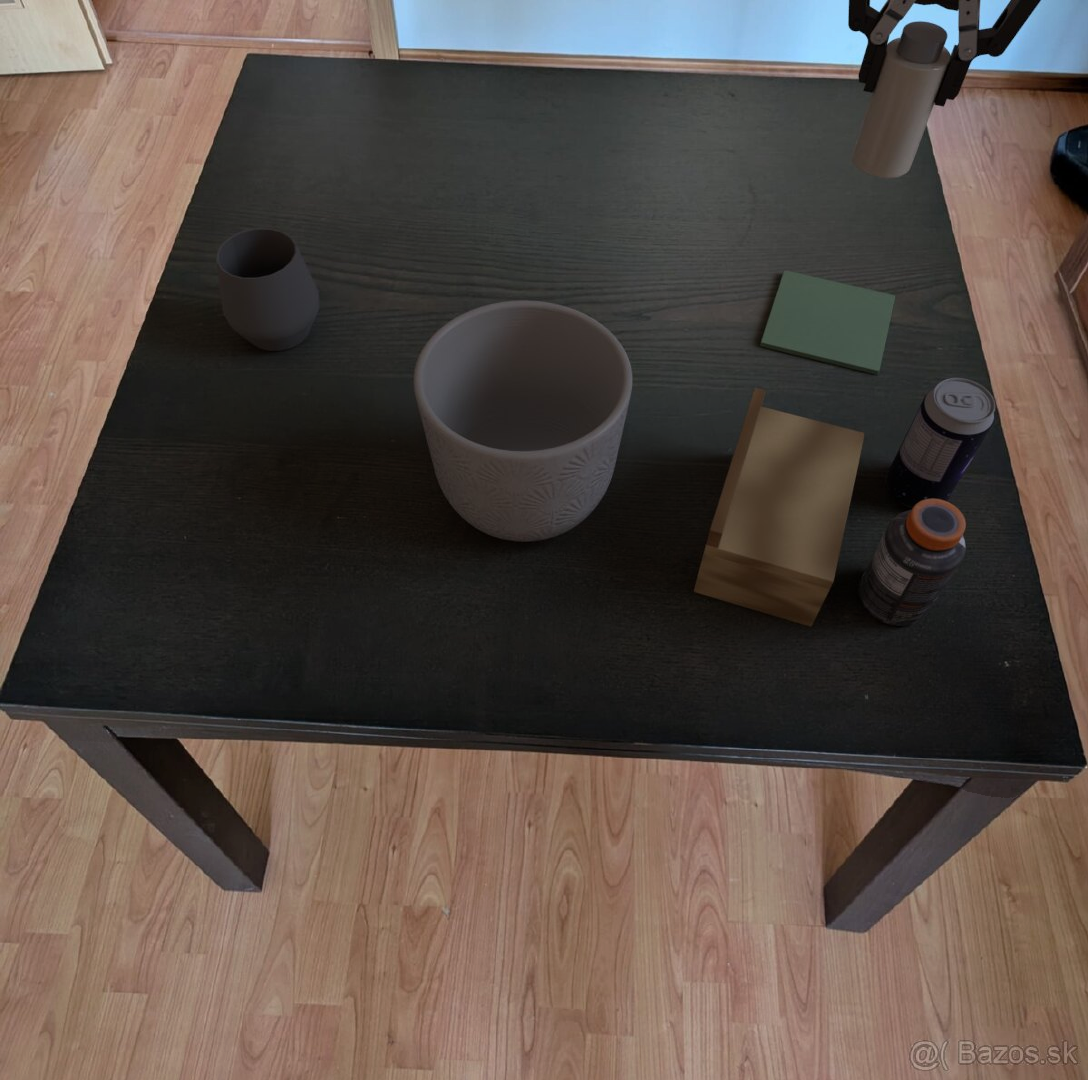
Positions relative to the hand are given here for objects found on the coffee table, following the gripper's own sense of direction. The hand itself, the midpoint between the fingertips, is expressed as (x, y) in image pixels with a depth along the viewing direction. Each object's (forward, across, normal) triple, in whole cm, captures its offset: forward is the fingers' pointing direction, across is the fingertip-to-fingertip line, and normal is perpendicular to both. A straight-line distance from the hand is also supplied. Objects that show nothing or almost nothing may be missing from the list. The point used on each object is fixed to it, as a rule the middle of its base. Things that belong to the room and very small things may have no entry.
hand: (904, 92), depth 72 cm
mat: (+28, +1, +5) cm, 28 cm away
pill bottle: (+28, +11, -27) cm, 40 cm away
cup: (+28, -53, -15) cm, 62 cm away
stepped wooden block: (+28, 0, -24) cm, 36 cm away
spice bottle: (+6, 0, 0) cm, 6 cm away
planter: (+28, -22, -26) cm, 44 cm away
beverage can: (+28, +12, -14) cm, 33 cm away
